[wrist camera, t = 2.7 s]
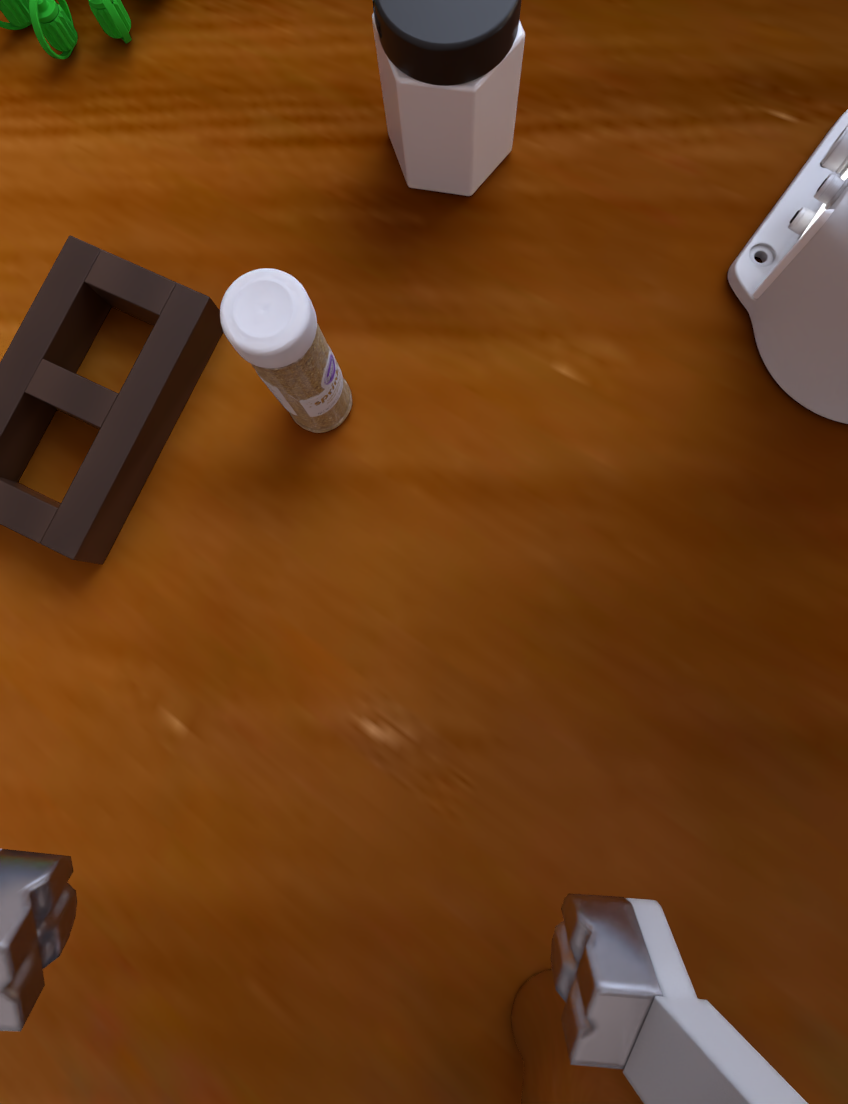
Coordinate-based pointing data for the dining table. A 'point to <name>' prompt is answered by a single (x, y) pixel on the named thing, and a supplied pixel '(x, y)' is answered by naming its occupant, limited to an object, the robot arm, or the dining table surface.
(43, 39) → the chandelier
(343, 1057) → the dining table surface
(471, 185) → the jar
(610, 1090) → the beer glass
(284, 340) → the sprinkles bottle
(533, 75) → the dining table surface
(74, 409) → the holder
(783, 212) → the robot arm
